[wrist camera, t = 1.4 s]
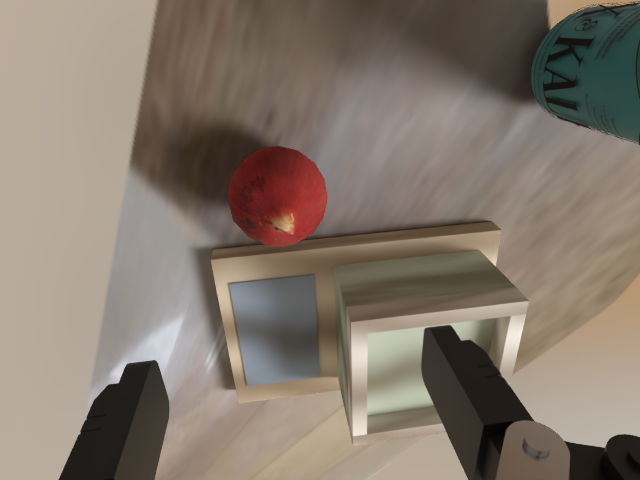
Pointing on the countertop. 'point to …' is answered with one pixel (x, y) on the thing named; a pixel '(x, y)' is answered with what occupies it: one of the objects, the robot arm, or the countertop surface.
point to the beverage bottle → (593, 70)
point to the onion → (277, 196)
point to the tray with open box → (364, 318)
